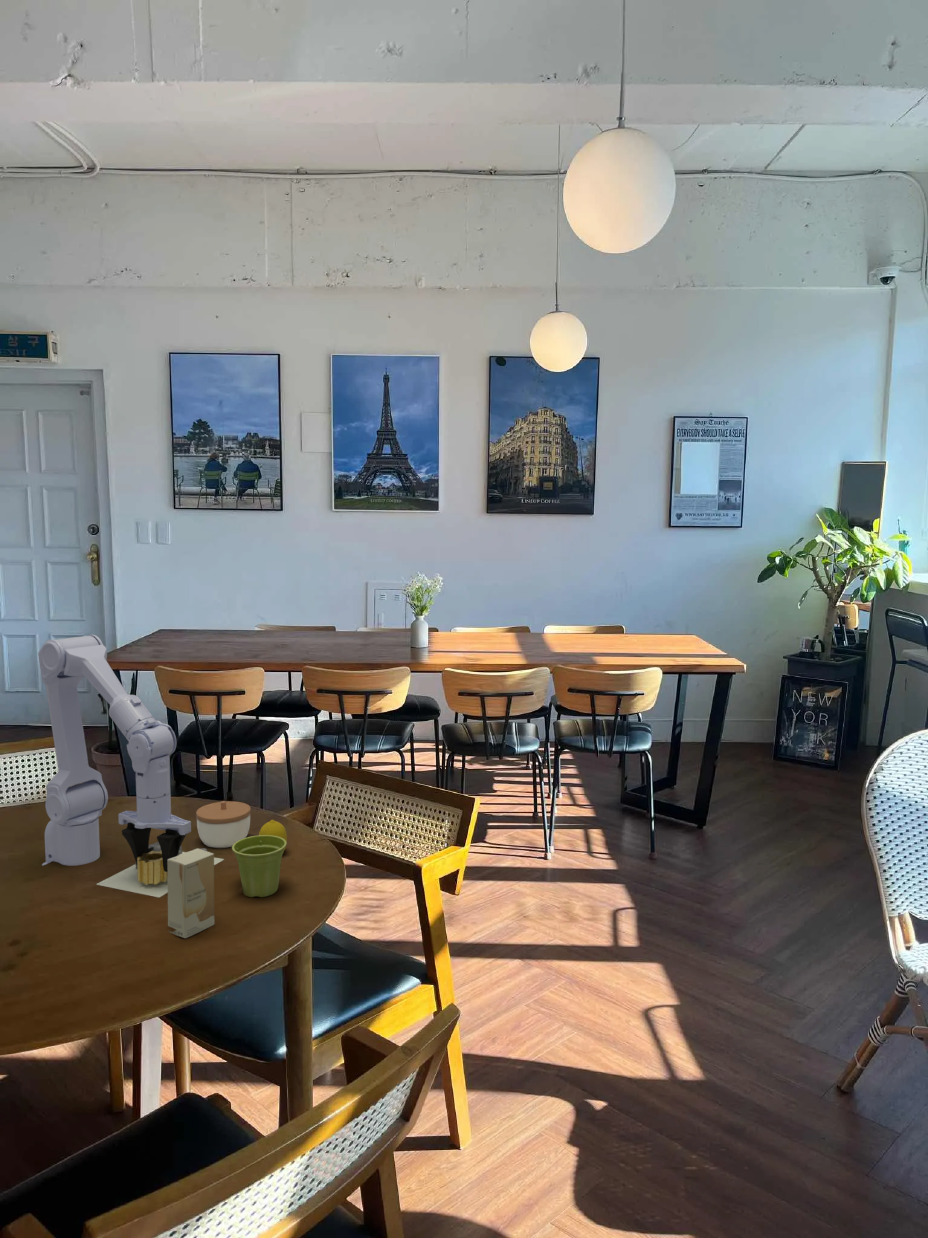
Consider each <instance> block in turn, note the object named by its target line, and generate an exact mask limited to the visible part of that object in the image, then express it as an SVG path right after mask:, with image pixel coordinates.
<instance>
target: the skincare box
mask: <svg viewBox="0 0 928 1238" xmlns="http://www.w3.org/2000/svg"><path fill="white" fill-rule="evenodd" d="M185 852H186V853H183V854H180V855H178V856H176V857H173V858H170V859H168V893H167V927H169V928H171V929H174V931H171V930H167V932H168V933H171V934H173V935H175V936H177V937H181V938H182V939H187V938H189V937H192V936H194V935H196V934H198V933H201V932H202V931H205V930H206V929H208V928H210V927H212V926H215V865H214V857H215V853H214V852H211V851H208V850H207V851H204V850H201V848H194V849H192V850H189V851H185Z"/></svg>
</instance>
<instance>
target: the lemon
mask: <svg viewBox="0 0 928 1238" xmlns="http://www.w3.org/2000/svg"><path fill="white" fill-rule="evenodd" d="M259 835H273V836H278V837H281V838H283V839H284V840H285V841H286V847H287V844H288V834H287V830H286V828H285V826H284V825H283V824H282V823H280V821H276V820H274V819H271V820H270V821H267V822H266V823H264V824H263V825H262V826H261V828H260V830H259V833H258V836H259ZM286 847H285V848H284V851H285V850H286Z"/></svg>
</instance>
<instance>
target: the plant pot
mask: <svg viewBox="0 0 928 1238" xmlns="http://www.w3.org/2000/svg"><path fill="white" fill-rule="evenodd" d="M285 847H287V845H286V841H285V840H284V839H283V838H281V837H278V836H273V835H259V834H258V835H253V836H248V837H247V836H246V838H244V839H241V840H239V841H237V842H236V843H234V844H233V846H232V847H231V850H232V852H233V853H234V855H235V859H236V860H237V864H238V869H239V876H240V881H241V888H242V893H243V894H244V896H246V897H249V898H254V897H259V898H266V897H269V896H271V895H273V894H275V893H276V892H277V891H278V889H279V883H280V873H281V865H282V858H283V854H284V851H285V850H284V848H285ZM285 849H286V848H285Z"/></svg>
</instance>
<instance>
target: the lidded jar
mask: <svg viewBox="0 0 928 1238" xmlns="http://www.w3.org/2000/svg"><path fill="white" fill-rule="evenodd" d="M251 812H252V808H251V806H250V805H249V804H248V803H245V802H240V801H231V800H230V801H229V800H228V801H226V800H223V801H222V800H221V801H219V802H218V801H216V802H212V803H208V804H205V805H203V806H201V807H199V808H197V810H196V813H195V818H196V827H197V832H198V836H199V838H200V840H201V841H202V843H203V844H204V845H205V846H206V847H209V848H215V849H225V848H232V846H233V844H234V843H236V842H237V841H239V840H241V839H244V838H247V836H248V834H249V831H250V826H251Z"/></svg>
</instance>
